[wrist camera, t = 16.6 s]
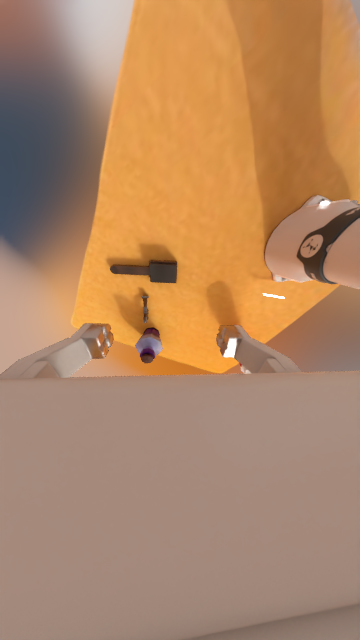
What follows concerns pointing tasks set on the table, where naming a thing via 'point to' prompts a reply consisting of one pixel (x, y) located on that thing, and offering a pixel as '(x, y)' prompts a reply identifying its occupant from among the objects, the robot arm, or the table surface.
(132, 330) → the table surface
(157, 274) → the mallet
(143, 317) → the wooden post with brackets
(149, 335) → the potion bottle
